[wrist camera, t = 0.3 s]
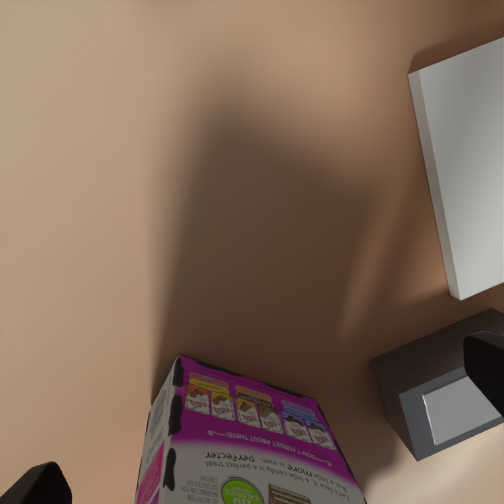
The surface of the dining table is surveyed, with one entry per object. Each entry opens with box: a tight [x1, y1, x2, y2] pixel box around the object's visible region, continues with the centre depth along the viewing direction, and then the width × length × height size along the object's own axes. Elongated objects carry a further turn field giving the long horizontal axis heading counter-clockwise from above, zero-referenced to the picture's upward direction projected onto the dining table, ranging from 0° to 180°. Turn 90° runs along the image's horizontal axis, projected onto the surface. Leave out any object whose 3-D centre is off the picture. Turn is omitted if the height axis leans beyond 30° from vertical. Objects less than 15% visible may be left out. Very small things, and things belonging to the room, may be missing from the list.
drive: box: [369, 308, 504, 461], centre depth 24 cm, size 6×10×4 cm, turn 110°
